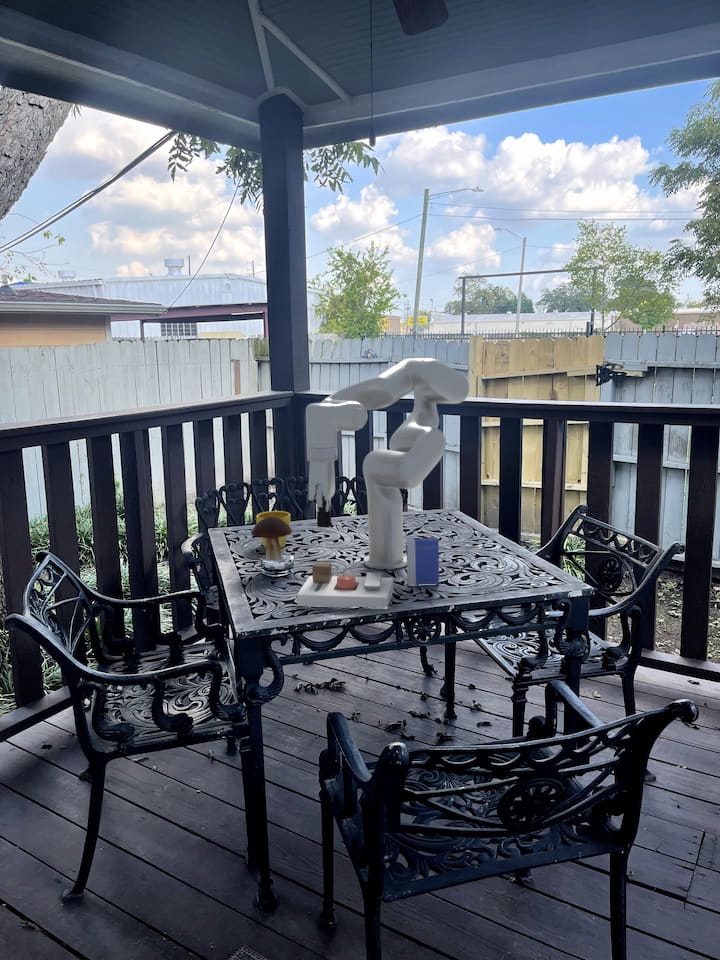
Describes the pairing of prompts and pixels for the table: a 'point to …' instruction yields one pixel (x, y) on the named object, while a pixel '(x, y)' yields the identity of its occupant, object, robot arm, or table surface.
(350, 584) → the red button
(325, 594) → the control panel
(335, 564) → the table surface
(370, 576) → the grey rocker
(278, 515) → the plant pot
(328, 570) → the walnut slider
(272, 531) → the decorative mushroom
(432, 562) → the walkman
